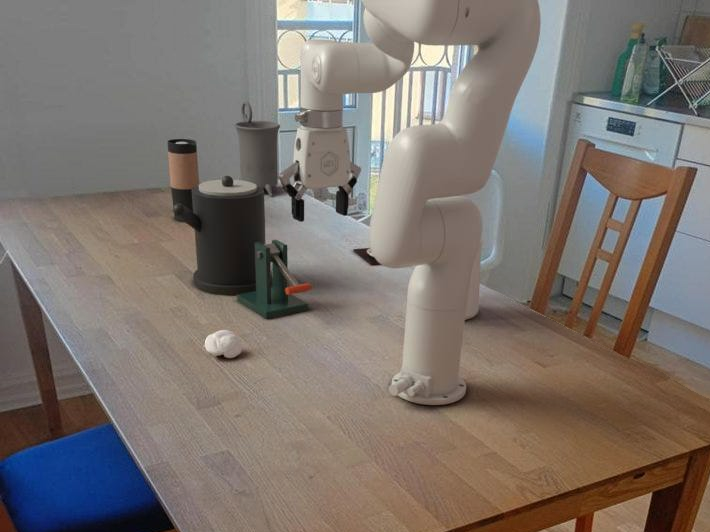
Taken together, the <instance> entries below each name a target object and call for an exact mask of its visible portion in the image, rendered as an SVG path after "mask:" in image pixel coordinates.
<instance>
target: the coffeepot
mask: <svg viewBox="0 0 710 532" xmlns="http://www.w3.org/2000/svg"><path fill="white" fill-rule="evenodd" d="M483 245H484V240H483V238H481V240H480V244H479V247H478V250H477V254H476V257H475V260H474V263H473V267H472V272H471V277H470V283H469V290H468V298H467V305H466V314H465V321H466V320H470V319H473V318H474V317H475V316H476V315H478V313H479V308H480V287H481V286H480V285H481V267H482V265H481V264H482V247H483Z"/></svg>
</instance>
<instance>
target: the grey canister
mask: <svg viewBox="0 0 710 532" xmlns="http://www.w3.org/2000/svg"><path fill="white" fill-rule="evenodd" d="M246 106H247V109H248V115H247V114H246V113H245V108H246ZM240 110H241V111H240V112H241V118H242V121H239V122H236V123H234V127H235V129H236V132H237V135H238V147H239V168H240V169H239V170H240V179H239V180H241V181H247V182H251V183H254V184H255V185H257V186H259V187H261V188H263V189H265V190H266V192H267V193H268V196H270V197H274V196H273V187H276V186H278V184H279V177H278V176H279V173H278V171H279V170H278V135H279V134H278V133H279V130H280V128H281V125H280V124H279V123H277V122H273V121H266V120H252V119H253V110H252V106H251V104H250V102H249V101H246V100H245V101H243V102H242V104H241V108H240Z"/></svg>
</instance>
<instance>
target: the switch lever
mask: <svg viewBox="0 0 710 532" xmlns="http://www.w3.org/2000/svg"><path fill="white" fill-rule="evenodd" d="M265 246H267V247H269V248H270V263H272V262H274V263H275V265H276V266H277V267H278V269H279V270H280V271H281V273H282V274H283V275H284V277H285V278H286V279H287V281H288V284H289V285H290V286H288V287H287V288H286V289H285V292H286V294H287V295H291V294H292V295H295V294H301V293H305V292H310V291H311V290H312V284H311V283H309V282H307V283H302V284H300V283H299V282H298V280H297V279H296V278H295V276H294V275H293V274H292V272H291V271H290V270H289V268H288V269H287V267H286V266H285V265H284V263H283V262H282V261H281V259H280V258H279V255H280V251H279V249H278V248H277V247H276V246H275V244H274V243H272V242H271V243H266V244H265Z"/></svg>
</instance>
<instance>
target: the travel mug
mask: <svg viewBox="0 0 710 532" xmlns="http://www.w3.org/2000/svg"><path fill="white" fill-rule="evenodd" d="M197 148H198V147H197V141H196V140H195V139H190V138H174V139H169V140H167V154H168V168H169V169H168V170H169V180H170V181H169V182H170V190H171V198H172V199H171V200H172V208H173V207H174V206H175V205H176V204H182V205H184V206H185V207H187V208H188V209H189V210H191V211H192V212H193V202H192V188H193V187H195V186H198V185H199V184H200V173H199V162H198V149H197ZM173 216H174V220H175V221H178V222H182V223H185V222H184V221H183V220H181V219H180V218H179V217H177V216H176V215H175V214H174V213H173Z"/></svg>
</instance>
